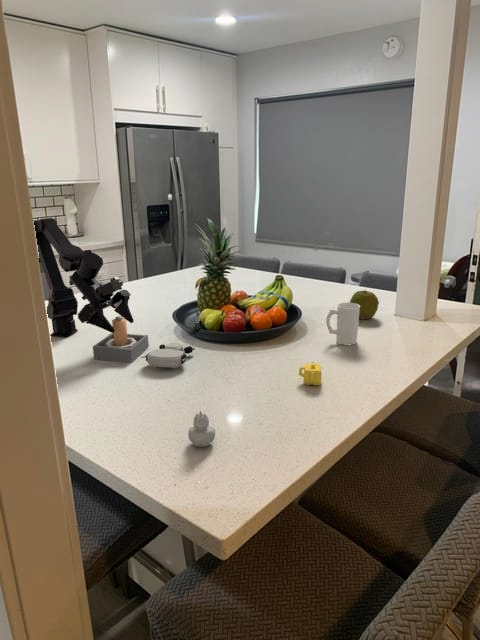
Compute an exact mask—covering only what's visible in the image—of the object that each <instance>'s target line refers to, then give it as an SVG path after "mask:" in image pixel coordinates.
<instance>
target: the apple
mask: <svg viewBox="0 0 480 640" xmlns="http://www.w3.org/2000/svg"><path fill="white" fill-rule="evenodd" d="M349 303H355V304H358V305H360V311H359V318H360V319H361V320H368V319H370V318H373V317H374V316H375V315H376V313H377V311H378V307H379V304H380V301H379V298H378V297H377V295H375V293H374V292H372V291H368V290H357V291H356V292H355V293H354V294H353V295H352V296H351V298H350V299H349ZM360 319H359V320H360Z"/></svg>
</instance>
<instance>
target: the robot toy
mask: <svg viewBox="0 0 480 640" xmlns="http://www.w3.org/2000/svg"><path fill="white" fill-rule="evenodd" d="M195 350H196V347H195V346H191V345H188V346H185V347H184V346H183V344H182V343H179V342H170V343H167V345H165V344H162V343H161V344H160V345H159V348H155V349H153V350H151V351H150V352H148V353H147V354H146V355H143V356H142V355H140V359H143V358H145V361H146V362H147V364H148V365H150V366H153V367H155V368H171V369H177V368H179V367H181V366H182V365H184V364H185V363H186V362H187V361H188V360H189V359H188V356H187V355H188V354H191V353H193V351H195Z"/></svg>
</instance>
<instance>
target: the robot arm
mask: <svg viewBox="0 0 480 640" xmlns="http://www.w3.org/2000/svg"><path fill="white" fill-rule="evenodd" d="M33 221H34V225H35V231H36V238H37V245H38V252H39V256H38V258H39V261H40V265H41V267H42V269H43V270H42V271H43V273H44V276H45V279H46V283H47V285H48V288H49V293H48V297H47V302H48V303H47V306H46V308H47V314H48V317H47V318H48V319H49V320H51V324H52V325H51V326H52V331H53V332H52V333H50V336H52V337H63V338H67V337H70V336H72V335H74V334H75V333H76V332H78V328H77V326H76V320H75V319H74V316H75V315H76V316H77V319H78V320H79V322H81V324H84V323H85V324H87V325H92V326H95V327H98V328H100V329H103V330H104V331H107V332H109V333H110V334H111V333H114V332H115V330H114V328H113V325H112V323H110V321H109V320H108V319H107V317H106V316H105V315H104V309H106V308H109V307H111V308H112V309H113V311H114V312H115V313H116V314H118V315H119V316H121V317H122V318H125V319H126V322H129V323H131V324H133V323H134V322H135V320H134V318H133V315H132V312H131V310H130V307H129V300H130V297H131V293H130V292H129V290H127V289H123V286H124V282H123V281H122V279H121V278H120V277H119V276H114V277H113V278H110V281H108V282H106V283H104V282H102V281H101V282H98V280H97V279H96V278H97V276H98V274H99V273H100V271H101V269H102V267H103V265H104V259H103V258H102V257H101V256H100V255H99V254H97V253H95V252H92V250H91V249H87V250H86V249H85V250H83V249H82V248H80V246H78V245H75V244H73V243H72V242H71V241H70V239H69V238H68V237H67V236H66V235H65V233H64V231H62V229H61V228H60V227H59V225H58V223H57V220H56V218H52V217H47V218H46V217H45V218H40V219H36V220H33ZM53 248H54V250H55V251H56V253H57V254H58V262H57V259H56V255H55V252H54V250H53ZM58 263H59V264H58ZM59 266H60V267H59ZM60 268H61V269H63V271H64V272H65V273H70V272H73V273H72V274H71V275H69V277H68V278H69V281H68V282H69V286H71V287H67V285H66V284H65V281H64V279H63V276H62V274H61V273H62V272H61V271H60ZM73 285H74V287H76V288H77V290H78V291H79V292H80V294H82V297H81V299H82V300H83V301H85V300H87V301H88V303H86V304H85V305H84V306H83V307H82V308H81V309H80V311H79V312H78V307H79V306H78V304H79V303H78V299H77V298H76V296H75V294H74V293H75V292H74V290H73V288H72V286H73Z"/></svg>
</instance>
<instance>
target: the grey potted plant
mask: <svg viewBox="0 0 480 640" xmlns="http://www.w3.org/2000/svg"><path fill="white" fill-rule="evenodd" d="M209 421H210V420H209V417H208V415H207V414H206V413H202V411H201V410H200V411H199V414H198V413H196V414H195V415H194V418H193V426H192V427H190V428H189V429H188V433H187V435H188V439H189V441H190V442H191V443H192V446H195V447H197V448H204V447H208V446H209V445H211V444H212V443H213V442H214V440H215V438H216V430H215V428H214V427H213V426H212V427H211V426H210V424H209V423H210V422H209Z"/></svg>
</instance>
